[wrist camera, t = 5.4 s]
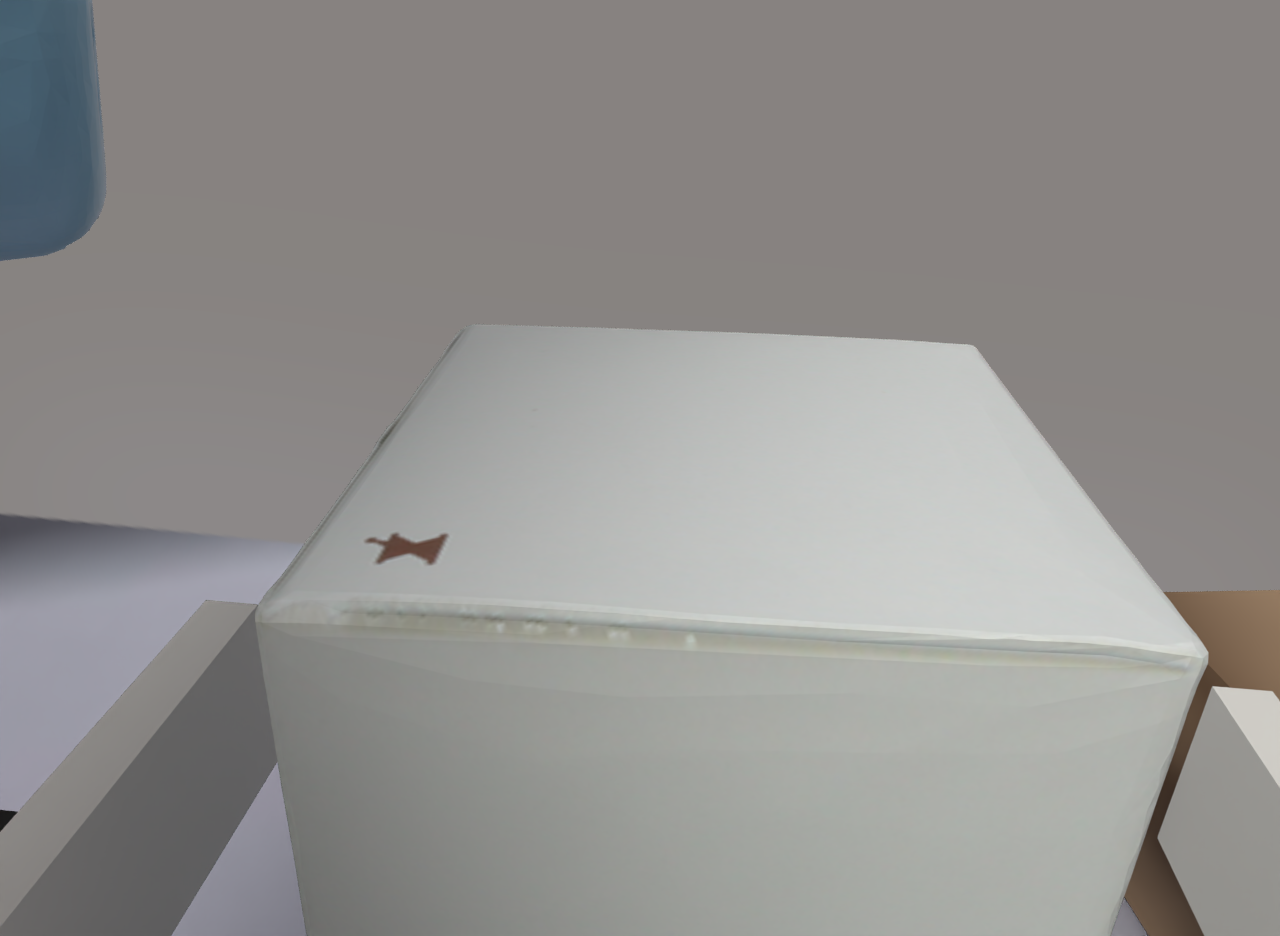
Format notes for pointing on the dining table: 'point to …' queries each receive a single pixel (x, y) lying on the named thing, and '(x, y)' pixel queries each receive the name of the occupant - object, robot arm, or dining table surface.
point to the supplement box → (717, 653)
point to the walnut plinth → (1237, 658)
